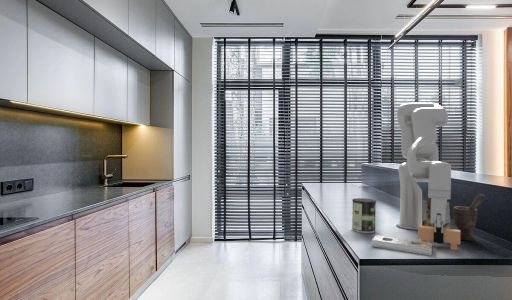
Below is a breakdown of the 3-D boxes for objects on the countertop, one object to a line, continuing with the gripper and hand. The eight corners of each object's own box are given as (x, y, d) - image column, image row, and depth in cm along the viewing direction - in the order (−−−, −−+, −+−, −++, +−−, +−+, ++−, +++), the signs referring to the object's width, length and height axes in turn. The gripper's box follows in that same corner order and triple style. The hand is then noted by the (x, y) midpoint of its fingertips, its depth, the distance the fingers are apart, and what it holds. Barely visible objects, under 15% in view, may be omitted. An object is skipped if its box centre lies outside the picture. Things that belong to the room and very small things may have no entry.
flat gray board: (371, 246, 122) (371, 239, 122) (375, 241, 129) (375, 235, 129) (431, 255, 112) (431, 248, 112) (432, 249, 119) (432, 243, 119)
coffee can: (377, 229, 149) (378, 199, 149) (372, 234, 140) (373, 202, 140) (355, 226, 154) (355, 197, 154) (349, 231, 145) (349, 200, 145)
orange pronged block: (417, 245, 125) (418, 227, 125) (418, 242, 129) (418, 225, 129) (460, 251, 118) (460, 232, 118) (459, 248, 122) (459, 230, 122)
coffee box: (451, 240, 132) (452, 201, 133) (441, 242, 130) (442, 202, 130) (430, 235, 141) (431, 198, 141) (421, 236, 138) (421, 199, 138)
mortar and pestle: (487, 240, 133) (488, 192, 133) (483, 244, 127) (484, 194, 127) (455, 235, 141) (456, 190, 141) (450, 238, 135) (451, 191, 135)
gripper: (428, 191, 133) (428, 235, 132) (427, 195, 118) (426, 245, 118) (450, 192, 129) (449, 238, 129) (451, 197, 114) (450, 248, 114)
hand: (438, 241), depth 123 cm, fingers closed on orange pronged block, 4 cm apart
